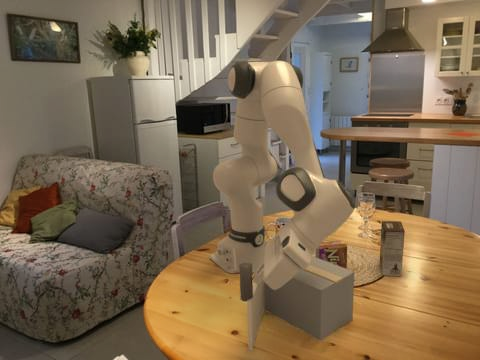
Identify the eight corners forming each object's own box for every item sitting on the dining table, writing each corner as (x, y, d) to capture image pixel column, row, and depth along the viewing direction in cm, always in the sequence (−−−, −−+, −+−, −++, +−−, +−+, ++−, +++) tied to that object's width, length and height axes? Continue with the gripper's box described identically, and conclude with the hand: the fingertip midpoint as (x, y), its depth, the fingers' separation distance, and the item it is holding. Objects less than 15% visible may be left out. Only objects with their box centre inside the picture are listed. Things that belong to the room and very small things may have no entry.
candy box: (342, 285, 133) (343, 239, 130) (346, 291, 129) (348, 245, 125) (314, 287, 132) (315, 241, 129) (318, 294, 128) (319, 247, 125)
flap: (253, 307, 120) (252, 238, 115) (264, 308, 119) (263, 238, 114) (240, 348, 102) (237, 268, 97) (252, 349, 101) (250, 269, 96)
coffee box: (378, 263, 147) (381, 220, 143) (398, 264, 146) (400, 221, 142) (381, 275, 139) (384, 229, 135) (402, 277, 137) (405, 230, 133)
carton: (263, 309, 120) (262, 263, 117) (296, 292, 129) (296, 249, 126) (321, 341, 106) (322, 289, 102) (353, 319, 115) (355, 271, 111)
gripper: (285, 216, 106) (247, 253, 109) (288, 248, 86) (242, 292, 89) (303, 233, 106) (265, 269, 109) (310, 268, 87) (263, 311, 90)
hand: (255, 279), depth 99 cm, fingers closed, pressing on flap
